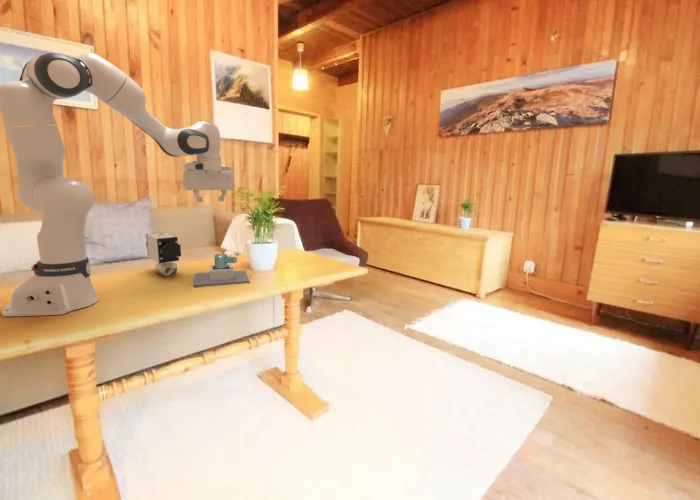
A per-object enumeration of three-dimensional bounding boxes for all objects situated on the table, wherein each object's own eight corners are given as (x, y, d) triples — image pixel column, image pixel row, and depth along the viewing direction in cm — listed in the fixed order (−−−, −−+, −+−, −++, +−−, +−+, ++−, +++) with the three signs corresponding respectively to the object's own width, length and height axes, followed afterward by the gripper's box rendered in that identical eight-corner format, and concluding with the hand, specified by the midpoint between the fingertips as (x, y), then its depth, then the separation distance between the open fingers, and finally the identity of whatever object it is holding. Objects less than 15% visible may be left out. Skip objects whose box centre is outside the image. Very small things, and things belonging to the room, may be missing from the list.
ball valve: (185, 276, 143) (182, 233, 139) (162, 280, 137) (159, 235, 133) (168, 267, 155) (166, 227, 151) (147, 270, 149) (143, 229, 145)
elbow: (212, 278, 139) (211, 255, 138) (219, 275, 144) (218, 253, 142) (232, 280, 138) (232, 257, 136) (239, 276, 142) (238, 255, 140)
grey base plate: (193, 287, 131) (192, 274, 130) (194, 275, 145) (194, 263, 144) (249, 282, 138) (249, 270, 137) (245, 271, 153) (245, 261, 152)
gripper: (228, 166, 148) (229, 200, 151) (179, 164, 132) (181, 201, 135) (237, 167, 144) (238, 201, 147) (188, 164, 128) (190, 203, 131)
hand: (210, 201), depth 141 cm, fingers open, 8 cm apart
